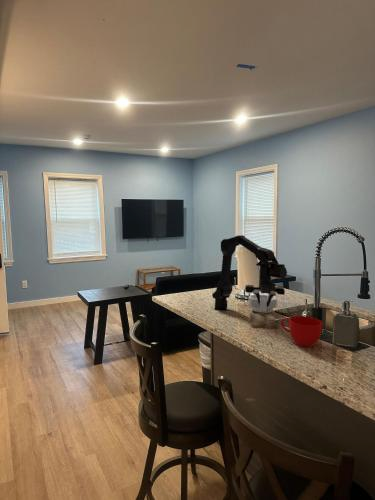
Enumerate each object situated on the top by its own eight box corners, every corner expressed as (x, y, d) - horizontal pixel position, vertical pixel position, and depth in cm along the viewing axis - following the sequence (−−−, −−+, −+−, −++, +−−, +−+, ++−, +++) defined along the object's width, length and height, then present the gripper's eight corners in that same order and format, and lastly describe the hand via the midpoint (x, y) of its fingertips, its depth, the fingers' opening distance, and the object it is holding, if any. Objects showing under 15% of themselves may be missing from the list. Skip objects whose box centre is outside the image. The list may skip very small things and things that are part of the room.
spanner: (259, 311, 163) (259, 303, 163) (260, 305, 173) (261, 298, 173) (266, 312, 162) (266, 303, 162) (267, 306, 173) (267, 298, 172)
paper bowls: (266, 306, 198) (266, 293, 197) (281, 313, 183) (282, 299, 183) (243, 308, 192) (243, 294, 192) (257, 316, 178) (258, 301, 177)
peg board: (251, 326, 160) (252, 318, 159) (250, 315, 179) (250, 307, 178) (277, 328, 158) (278, 320, 158) (273, 317, 177) (273, 309, 177)
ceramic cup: (286, 334, 151) (287, 312, 150) (325, 344, 141) (327, 320, 140) (273, 341, 141) (275, 318, 140) (314, 353, 131) (316, 327, 130)
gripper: (246, 277, 159) (244, 309, 161) (287, 279, 157) (285, 312, 158) (245, 273, 170) (244, 303, 172) (283, 275, 168) (282, 306, 169)
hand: (263, 306), depth 168 cm, fingers closed on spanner, 3 cm apart
